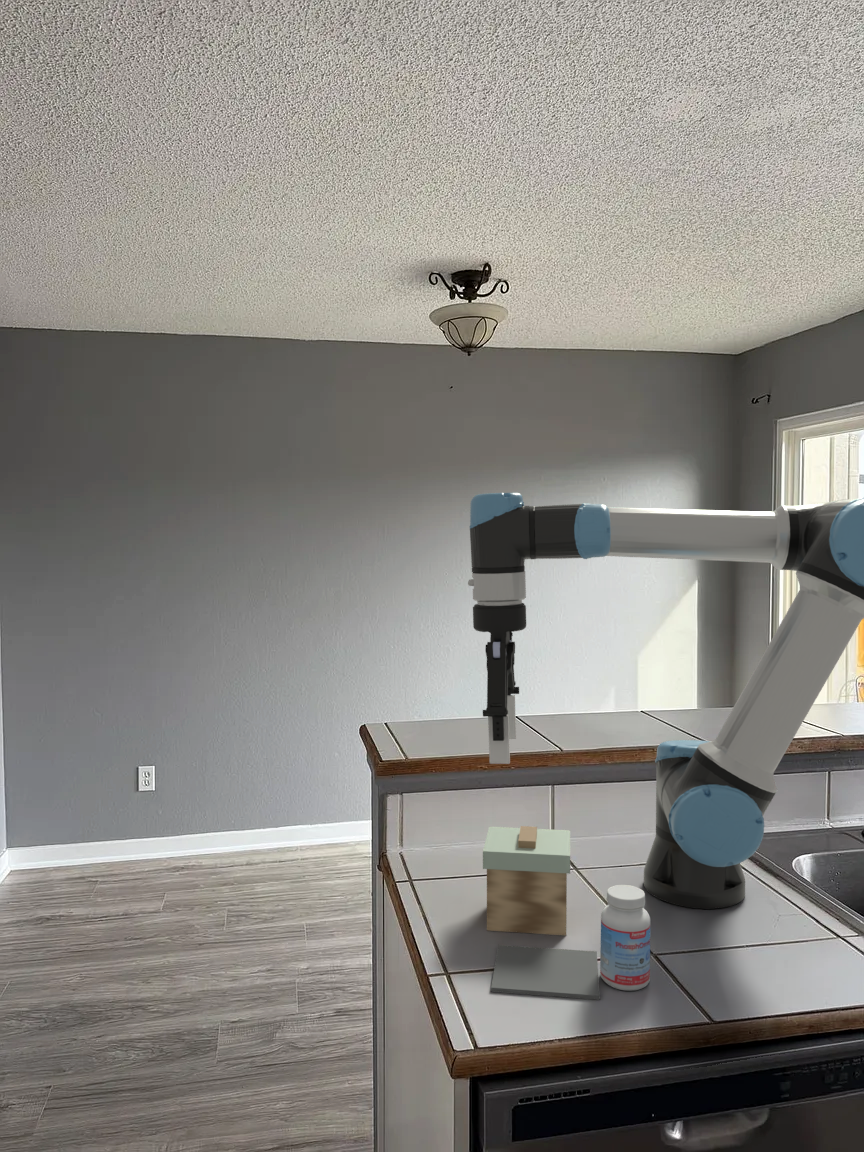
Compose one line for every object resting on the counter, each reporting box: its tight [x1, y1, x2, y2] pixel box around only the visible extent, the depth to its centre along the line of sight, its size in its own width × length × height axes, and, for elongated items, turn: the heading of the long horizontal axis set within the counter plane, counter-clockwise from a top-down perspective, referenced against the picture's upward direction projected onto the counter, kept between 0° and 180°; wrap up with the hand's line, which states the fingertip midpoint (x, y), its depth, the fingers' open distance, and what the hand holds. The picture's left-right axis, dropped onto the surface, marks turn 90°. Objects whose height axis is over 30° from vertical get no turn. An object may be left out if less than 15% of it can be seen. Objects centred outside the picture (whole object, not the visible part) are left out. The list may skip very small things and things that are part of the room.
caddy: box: [486, 869, 568, 936], centre depth 127 cm, size 11×9×9 cm
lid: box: [482, 825, 571, 875], centre depth 127 cm, size 12×10×4 cm
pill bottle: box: [599, 884, 651, 992], centre depth 110 cm, size 6×6×11 cm
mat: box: [490, 944, 601, 1001], centre depth 112 cm, size 13×11×1 cm
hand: (503, 750), depth 127 cm, fingers open, 13 cm apart
